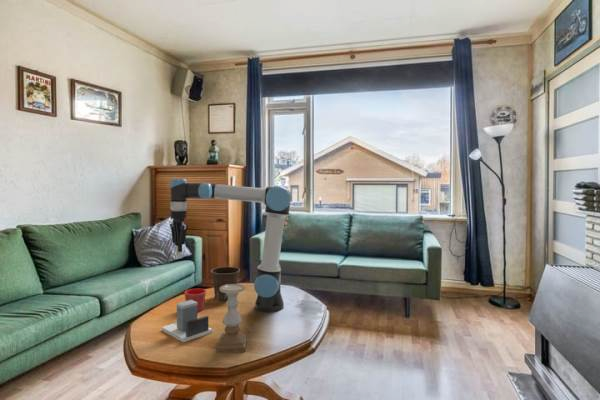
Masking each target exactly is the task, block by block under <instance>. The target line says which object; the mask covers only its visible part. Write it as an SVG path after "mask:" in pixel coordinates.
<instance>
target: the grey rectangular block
mask: <svg viewBox="0 0 600 400" xmlns="http://www.w3.org/2000/svg"><path fill="white" fill-rule="evenodd" d="M197 305H198V302H196V301H193V300H188V301H186V300H185V301H181V302H177V303H176V305H175V306H176V323H177V329H179V330H181V331H186V322H188V321H191V320H194V319H198V312H197Z"/></svg>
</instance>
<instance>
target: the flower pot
mask: <svg viewBox="0 0 600 400" xmlns="http://www.w3.org/2000/svg"><path fill="white" fill-rule="evenodd" d="M206 292H207V290H206V289H205V288H191V289H186V290H185V291H184V299H185V301H188V300H193V301H196V302H198V305H197V313H199V312H202V311H203V309H204V306H205V305H204V304H205V300H206V294H207V293H206Z"/></svg>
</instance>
